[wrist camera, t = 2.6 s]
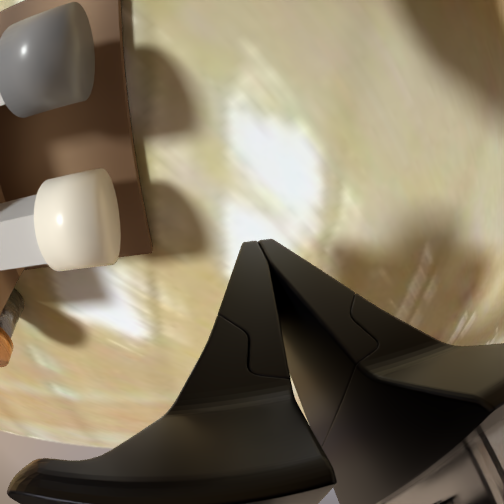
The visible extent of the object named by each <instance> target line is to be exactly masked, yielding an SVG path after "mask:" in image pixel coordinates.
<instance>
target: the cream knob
mask: <svg viewBox="0 0 504 504" xmlns="http://www.w3.org/2000/svg"><path fill="white" fill-rule="evenodd" d="M120 240H121V231H120V217H119V209H118V203H117V197H116V193H115V189H114V186H113V183H112V180H111V178H110V176H109V174H108V172H107V171H106V170H105V169H103V168H100V169H94V170H89V171H84V172H79V173H74V174H70V175H65V176H61V177H56V178H52V179H48V180H45V181H44V182H43V183H42V185H41V186H40V188H39V190H38V192H37V194H36V195H32V196H28V197H24V198H20V199H16V200H12V201H8V202H4V203H0V270H7V269H14V268H21V267H28V266H35V265H42V264H48V265H49V266H50V267H51V268H52V269H53V270H55V271H67V270H75V269H83V268H90V267H98V266H106V265H113V264H115V263H116V261H117V259H118V256H119V252H120Z"/></svg>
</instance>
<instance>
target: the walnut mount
mask: <svg viewBox="0 0 504 504" xmlns="http://www.w3.org/2000/svg"><path fill="white" fill-rule="evenodd" d="M71 2H78V3H79V4H80V5H81V6H82V7H83V8H84V10H85V12H86V14H87V17H88V19H89V23H90V26H91V31H92V36H93V42H94V52H95V75H94V83H93V88H92V91H91V94H90V96H89V98H88V99H87V100H85V101H82V102H78V103H74V104H70V105H66V106H63V107H59V108H56V109H52V110H49V111H45V112H42V113H39V114H35V115H32V116H29V117H26V118H21V117H18V116H16V115H15V114H13V113H12V112H11V111H10V110H9V109H8V107H7V106H6V104H4V105H2V106H0V203H4V202H8V201H12V200H16V199H20V198H24V197H28V196H32V195H36V194H37V192H38V190H39V188H40V186H41V185H42V183H43V182H44V181H45V180H48V179H52V178H56V177H61V176H65V175H70V174H74V173H79V172H84V171H89V170H94V169H100V168H103V169H105V170H106V171H107V172H108V174H109V176H110V178H111V180H112V183H113V186H114V189H115V193H116V197H117V203H118V209H119V217H120V231H121V240H120V252H119V256H118V257H124V256H132V255H140V254H147V253H152V249H153V245H152V241H151V236H150V232H149V227H148V222H147V217H146V212H145V207H144V202H143V196H142V191H141V185H140V180H139V174H138V168H137V162H136V155H135V149H134V142H133V135H132V128H131V120H130V113H129V104H128V95H127V86H126V76H125V65H124V52H123V37H122V18H121V0H25V1H22V2H20V3H18V4H16V5H13V6H11V7H9V8H7V9H5V10H3V11H1V12H0V38H1V36H2V34H3V33H4V31H5V30H6V29H7V28H8V27H9V26H10V25H12V24H14V23H17V22H19V21H21V20H24V19H26V18H29V17H31V16H34V15H36V14H39V13H41V12H44V11H47V10H50V9H53V8H55V7H58V6H61V5H64V4H68V3H71ZM42 267H49V265H48V264H42V265H35V266H28V267H21V268H14V269H7V270H0V315H1V312H2V310H3V308H4V306H5V304H6V302H7V300H8V298H9V296H10V294H11V292H12V290H13V289H14V287H15V285H16V283H17V281H18V279H19V277H20V275H21V274H22V272H23V270H27V269H35V268H42Z"/></svg>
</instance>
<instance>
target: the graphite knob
mask: <svg viewBox="0 0 504 504" xmlns="http://www.w3.org/2000/svg"><path fill="white" fill-rule="evenodd" d="M94 75H95V52H94V42H93V36H92V31H91V26H90V23H89V19H88V17H87V14H86V12H85V10H84V8H83V7H82V6H81V5H80V4H79V3H78V2H71V3H68V4H64V5H61V6H58V7H55V8H53V9H50V10H47V11H44V12H41V13H39V14H36V15H34V16H31V17H29V18H26V19H24V20H21V21H19V22H17V23H14V24H12V25H10V26H9V27H8V28H7V29H6V30H5V31H4V33H3V34H2V36H1V38H0V106H2V105H4V104H6V106H7V107H8V109H9V110H10V111H11V112H12V113H13V114H15V115H16V116H18V117H21V118H26V117H29V116H32V115H35V114H39V113H42V112H45V111H49V110H52V109H56V108H59V107H63V106H66V105H70V104H74V103H78V102H82V101H85V100H87V99H88V98H89V96H90V94H91V91H92V88H93V83H94Z"/></svg>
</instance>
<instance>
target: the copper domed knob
mask: <svg viewBox="0 0 504 504" xmlns="http://www.w3.org/2000/svg"><path fill="white" fill-rule="evenodd" d="M23 308H24V301H23V298H22V297H21V295H20V294H19V293H18V292H17V291H16V290H15V289H13V290H12V292H11V294H10V296H9V298H8V300H7V302H6V304H5V306H4V308H3V310H2V312H1V315H0V367H4V366H6V365H7V364H8V363H9V360H10V357H11V354H12V351H13V343H12V340H11V336H12V334H13V331H14V329H15V327H16V324H17V322H18V319H19V317H20V315H21V312H22V310H23Z"/></svg>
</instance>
